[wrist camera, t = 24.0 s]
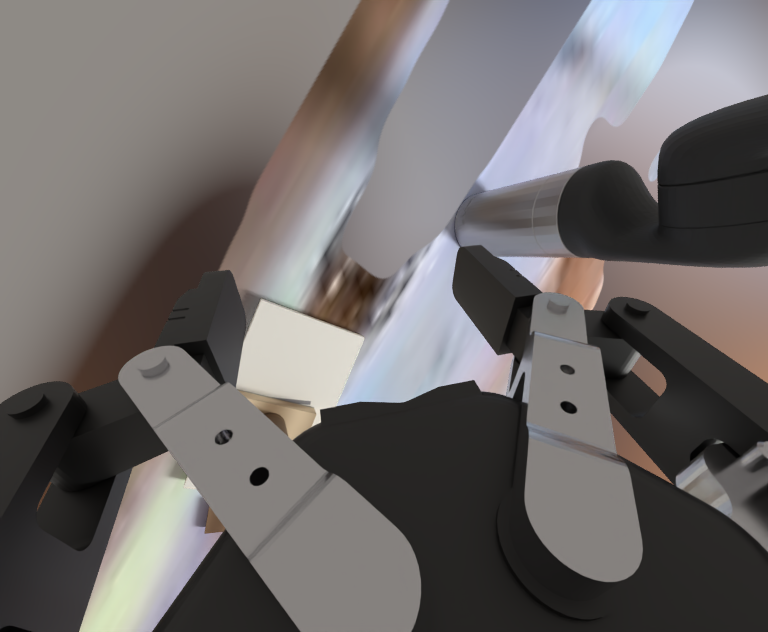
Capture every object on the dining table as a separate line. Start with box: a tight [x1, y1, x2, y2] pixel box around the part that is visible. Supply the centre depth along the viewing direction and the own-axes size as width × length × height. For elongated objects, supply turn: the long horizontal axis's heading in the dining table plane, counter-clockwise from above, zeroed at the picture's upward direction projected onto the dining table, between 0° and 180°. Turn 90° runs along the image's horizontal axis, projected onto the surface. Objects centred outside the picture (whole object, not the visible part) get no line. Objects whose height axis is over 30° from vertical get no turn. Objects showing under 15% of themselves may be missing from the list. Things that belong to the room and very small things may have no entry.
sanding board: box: [183, 298, 365, 489], centre depth 41 cm, size 14×24×2 cm, turn 155°
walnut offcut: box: [205, 506, 226, 534], centre depth 41 cm, size 4×4×2 cm
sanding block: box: [237, 389, 317, 440], centre depth 34 cm, size 10×6×12 cm, turn 65°
